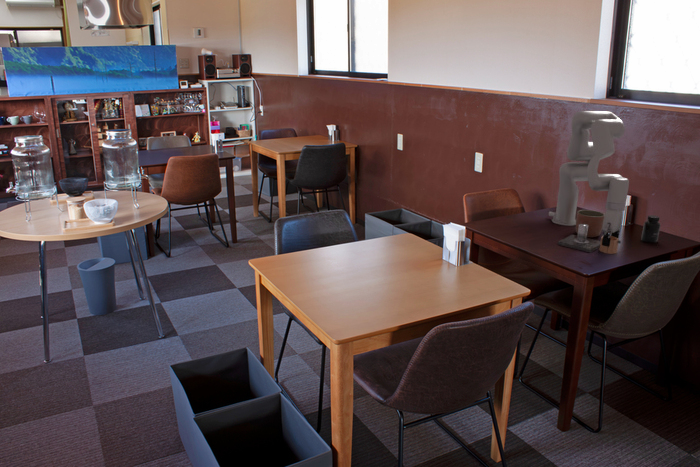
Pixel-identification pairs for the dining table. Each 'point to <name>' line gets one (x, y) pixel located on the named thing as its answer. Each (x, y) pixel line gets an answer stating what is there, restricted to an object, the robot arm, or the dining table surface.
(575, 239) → the cylinder on square base
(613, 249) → the wooden mug
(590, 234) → the planter
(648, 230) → the supplement bottle
